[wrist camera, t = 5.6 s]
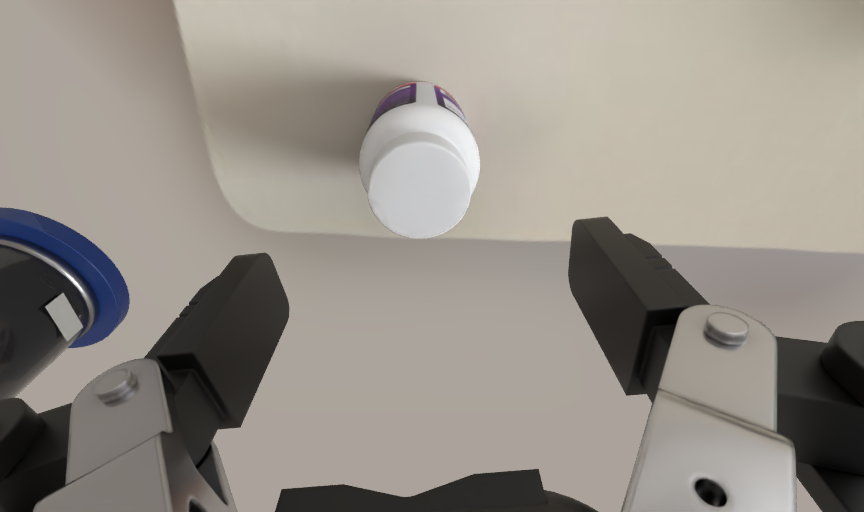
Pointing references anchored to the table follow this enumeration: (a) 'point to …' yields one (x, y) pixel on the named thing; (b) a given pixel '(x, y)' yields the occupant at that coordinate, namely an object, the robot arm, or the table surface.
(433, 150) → the pill bottle
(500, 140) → the table surface
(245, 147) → the table surface
